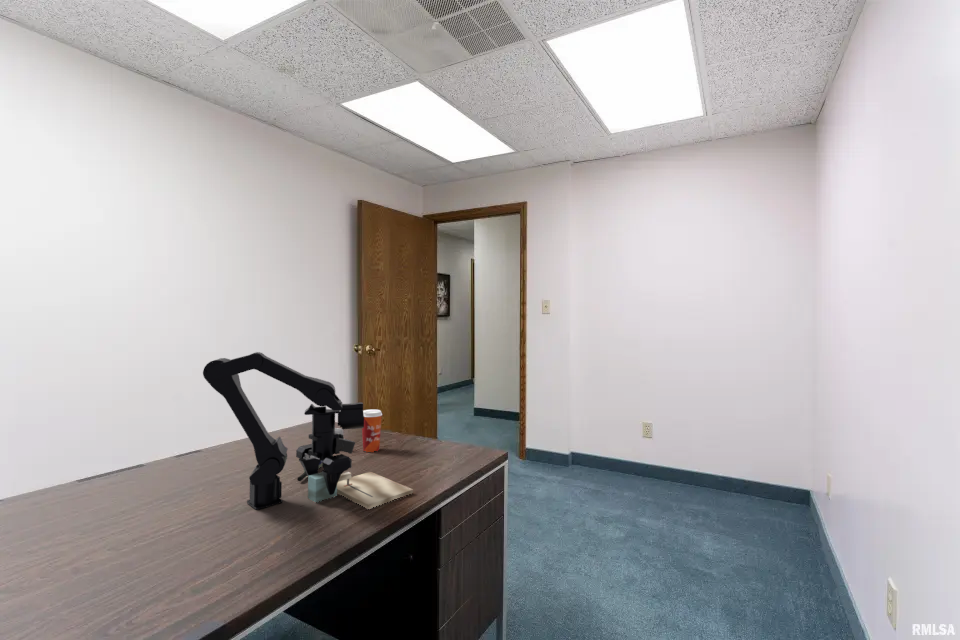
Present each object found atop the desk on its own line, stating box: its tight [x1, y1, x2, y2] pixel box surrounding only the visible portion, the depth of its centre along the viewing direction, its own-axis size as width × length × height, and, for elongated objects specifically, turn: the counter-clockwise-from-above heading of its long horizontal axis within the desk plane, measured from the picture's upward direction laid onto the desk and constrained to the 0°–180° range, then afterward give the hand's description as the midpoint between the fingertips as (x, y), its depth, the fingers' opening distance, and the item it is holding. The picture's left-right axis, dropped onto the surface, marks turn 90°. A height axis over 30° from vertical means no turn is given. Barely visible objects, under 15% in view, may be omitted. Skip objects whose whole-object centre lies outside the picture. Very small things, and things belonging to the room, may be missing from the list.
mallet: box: [307, 471, 352, 503], centre depth 120 cm, size 11×4×6 cm, turn 137°
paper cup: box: [361, 409, 383, 453], centre depth 160 cm, size 8×8×14 cm
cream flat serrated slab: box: [337, 471, 414, 510], centre depth 122 cm, size 14×20×1 cm
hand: (322, 489), depth 118 cm, fingers open, 9 cm apart
